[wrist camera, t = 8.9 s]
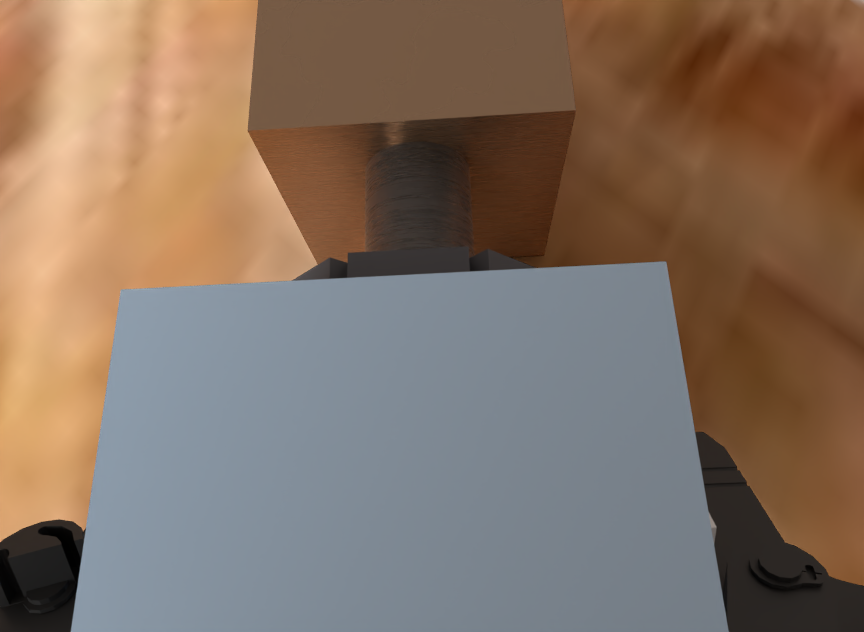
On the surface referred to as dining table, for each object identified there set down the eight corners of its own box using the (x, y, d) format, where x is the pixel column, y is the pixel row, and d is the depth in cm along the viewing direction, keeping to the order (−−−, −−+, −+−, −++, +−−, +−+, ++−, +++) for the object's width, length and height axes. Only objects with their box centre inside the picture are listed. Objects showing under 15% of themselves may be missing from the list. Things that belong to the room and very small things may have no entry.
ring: (553, 415, 17) (594, 337, 11) (312, 425, 17) (228, 354, 11) (547, 347, 17) (583, 239, 12) (314, 358, 18) (236, 258, 12)
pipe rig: (637, 1215, 13) (799, 1863, 7) (287, 1210, 13) (109, 1823, 7) (533, 145, 22) (557, -34, 15) (322, 158, 22) (259, -11, 16)
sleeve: (590, 675, 16) (764, 843, 6) (295, 682, 16) (39, 850, 7) (565, 421, 18) (666, 260, 8) (305, 432, 18) (120, 289, 9)
